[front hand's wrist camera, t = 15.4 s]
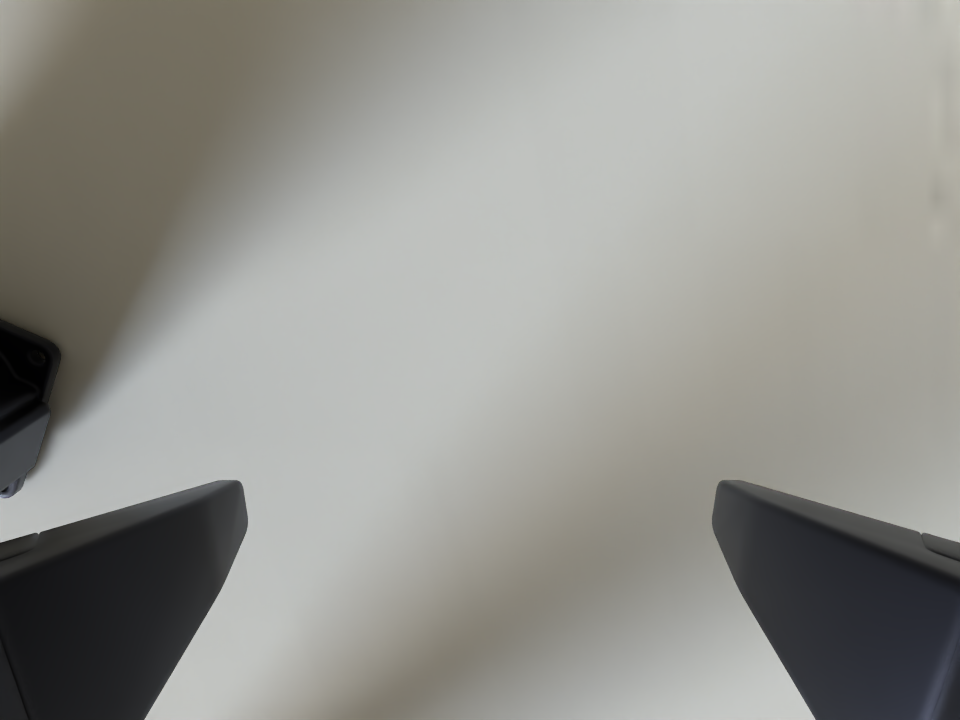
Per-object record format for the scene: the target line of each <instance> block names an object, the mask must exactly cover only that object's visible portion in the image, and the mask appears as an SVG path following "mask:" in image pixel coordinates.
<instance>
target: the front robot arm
mask: <svg viewBox="0 0 960 720" xmlns="http://www.w3.org/2000/svg"><path fill="white" fill-rule="evenodd" d="M38 351H40V352H42V353H43V354H44V356H45V360H43V359H42V358H41V357H40V356H39V355H38ZM60 360H61V354H60V351H59V349H58V348H57V346H56V345H55V344H54V343H52V342H50V341H49V340H46V339H44V338H42V337H40V336H37V335H35V334H33V333H30V332H28V331H26V330H24V329H21V328H19V327H17V326H14V325H12V324H10V323H7V322H5V321H3V320H1V319H0V497H1V498H9V497H11V496H13V495H14V494H15V493H17V492H18V491H19V490H21V488H22V487H23V484H24V481H25V477H26V474H27V472H28V471H29V470H30V469H32V468H33V467H34V466H35V464H36V461H37V457H38V454H39V451H40V447H41V444H42V441H43V437H44V434H45V431H46V428H47V424H48V421H49V418H50V414H51V410H50V406H49V404H48V400H49V397H50V393H51V390H52V387H53V383H54V380H55V377H56V373H57V370H58V367H59V363H60ZM247 526H248V516H247V509H246V503H245V497H244V490H243V486H242V484H241V482H239V481H237V480H220V481H215V482H212V483H208V484H205V485H201V486H198V487H194V488H191V489H188V490H184V491H181V492H177V493H174V494H170V495H167V496H163V497H160V498H156V499H153V500H150V501H146V502H143V503H139V504H136V505H132V506H129V507H125V508H122V509H119V510H115V511H112V512H108V513H105V514H101V515H98V516H94V517H91V518H88V519H84V520H81V521H77V522H74V523H70V524H67V525H63V526H60V527H56V528H53V529H50V530H46V531H43V532H41V533H40V534H39V535H38V534H37V533H33V534H30V535H26V536H23V537H19V538H16V539H12V540H9V541H5V542H1V543H0V720H144V719H145V717H146V716H147V714H148V712H149V711H150V709H151V707H152V706H153V704H154V702H155V701H156V699H157V697H158V695H159V694H160V692H161V690H162V689H163V687H164V685H165V684H166V682H167V680H168V679H169V677H170V675H171V674H172V672H173V670H174V669H175V667H176V665H177V663H178V662H179V660H180V658H181V657H182V655H183V653H184V652H185V650H186V648H187V647H188V645H189V643H190V642H191V640H192V638H193V637H194V635H195V633H196V632H197V630H198V628H199V626H200V625H201V623H202V621H203V620H204V618H205V616H206V615H207V613H208V611H209V610H210V608H211V606H212V605H213V603H214V601H215V599H216V598H217V596H218V594H219V592H220V590H221V588H222V586H223V584H224V582H225V580H226V578H227V575H228V573H229V571H230V569H231V566H232V564H233V562H234V559H235V557H236V555H237V552H238V550H239V548H240V545H241V543H242V541H243V539H244V536H245V534H246V531H247ZM712 526H713V531H714V534H715V536H716V539H717V541H718V543H719V545H720V548H721V550H722V552H723V555H724V557H725V559H726V562H727V564H728V566H729V569H730V571H731V573H732V575H733V578H734V580H735V582H736V584H737V586H738V588H739V590H740V592H741V594H742V596H743V598H744V599H745V601H746V603H747V605H748V606H749V608H750V610H751V611H752V613H753V615H754V616H755V618H756V620H757V621H758V623H759V625H760V626H761V628H762V630H763V632H764V633H765V635H766V637H767V638H768V640H769V642H770V643H771V645H772V647H773V648H774V650H775V652H776V653H777V655H778V657H779V658H780V660H781V662H782V663H783V665H784V667H785V669H786V670H787V672H788V674H789V675H790V677H791V679H792V680H793V682H794V684H795V685H796V687H797V689H798V690H799V692H800V694H801V695H802V697H803V699H804V701H805V702H806V704H807V706H808V707H809V709H810V711H811V712H812V714H813V716H814V717H815V719H816V720H960V543H959V542H955V541H951V540H948V539H944V538H941V537H937V536H934V535H930V534H927V533H923V534H922V535H921V534H920V533H919V532H917V531H914V530H910V529H907V528H904V527H900V526H897V525H893V524H890V523H886V522H883V521H879V520H876V519H872V518H869V517H866V516H862V515H859V514H855V513H852V512H848V511H845V510H841V509H838V508H835V507H831V506H828V505H824V504H821V503H817V502H814V501H810V500H807V499H804V498H800V497H797V496H793V495H790V494H786V493H783V492H779V491H776V490H772V489H769V488H766V487H762V486H759V485H755V484H752V483H748V482H745V481H740V480H723V481H721V482H719V484H718V486H717V490H716V497H715V503H714V509H713V516H712Z"/></svg>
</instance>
